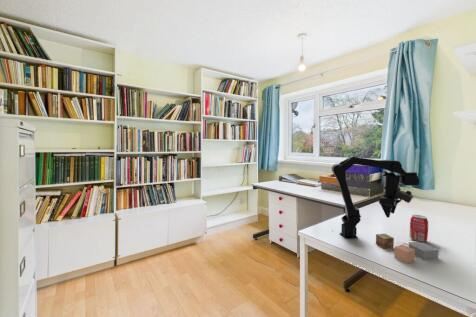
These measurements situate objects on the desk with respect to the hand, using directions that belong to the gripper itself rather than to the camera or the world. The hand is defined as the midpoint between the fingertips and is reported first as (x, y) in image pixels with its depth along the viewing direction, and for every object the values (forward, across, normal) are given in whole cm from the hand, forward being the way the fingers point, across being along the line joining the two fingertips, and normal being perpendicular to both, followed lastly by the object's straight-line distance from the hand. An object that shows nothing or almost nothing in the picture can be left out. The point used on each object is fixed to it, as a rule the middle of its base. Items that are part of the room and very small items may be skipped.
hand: (390, 215), depth 110 cm
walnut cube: (+13, -10, 0) cm, 16 cm away
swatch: (+12, +1, -11) cm, 17 cm away
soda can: (+12, +9, -10) cm, 19 cm away
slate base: (+13, -7, -14) cm, 21 cm away
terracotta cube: (+13, -18, -9) cm, 24 cm away
